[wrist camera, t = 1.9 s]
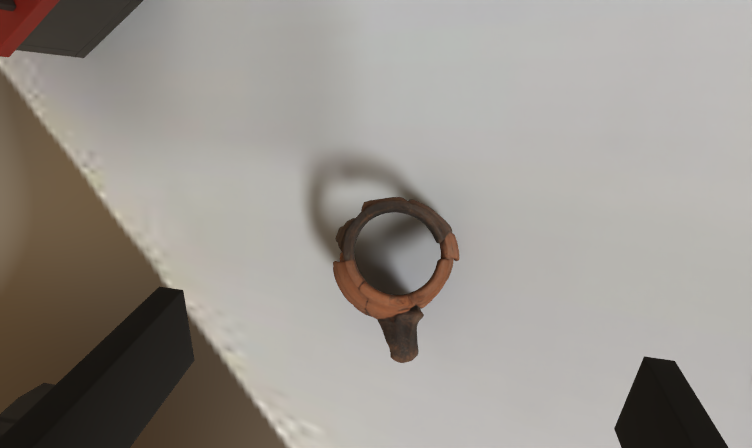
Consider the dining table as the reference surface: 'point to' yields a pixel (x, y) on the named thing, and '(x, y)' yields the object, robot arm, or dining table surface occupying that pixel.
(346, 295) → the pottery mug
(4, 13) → the lid
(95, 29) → the dark gray box
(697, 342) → the dining table surface
